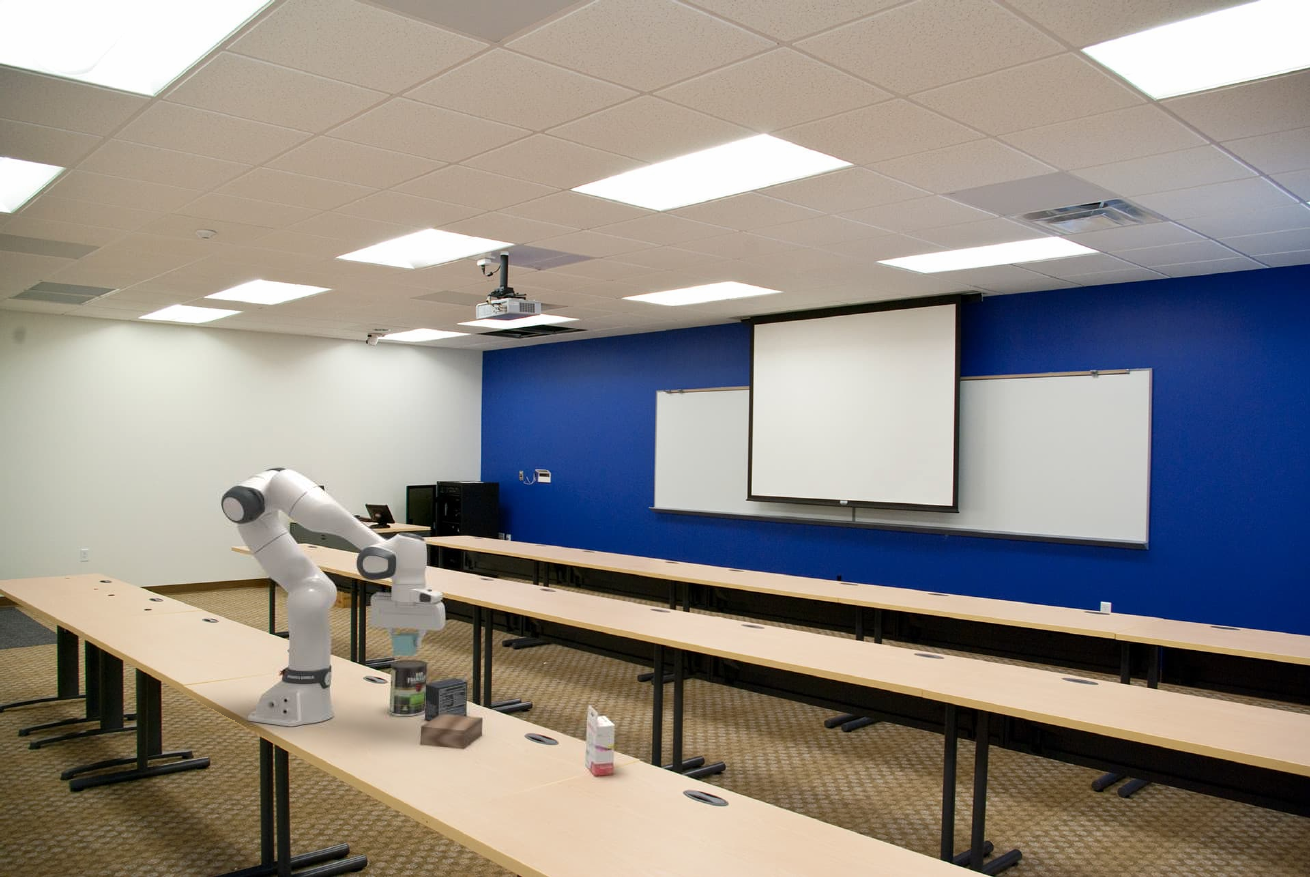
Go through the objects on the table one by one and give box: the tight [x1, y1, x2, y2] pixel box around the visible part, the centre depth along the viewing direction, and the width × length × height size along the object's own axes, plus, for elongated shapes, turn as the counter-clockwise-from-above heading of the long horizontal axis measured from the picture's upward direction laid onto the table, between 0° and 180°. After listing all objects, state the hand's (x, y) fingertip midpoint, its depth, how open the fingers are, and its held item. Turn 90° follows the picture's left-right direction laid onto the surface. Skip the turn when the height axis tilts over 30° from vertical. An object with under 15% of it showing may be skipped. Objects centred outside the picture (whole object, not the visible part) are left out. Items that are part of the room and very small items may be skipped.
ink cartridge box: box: [584, 705, 616, 777], centre depth 207 cm, size 9×5×15 cm, turn 21°
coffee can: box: [388, 659, 428, 718], centre depth 250 cm, size 10×10×14 cm
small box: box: [424, 677, 468, 722], centre depth 245 cm, size 11×6×10 cm, turn 141°
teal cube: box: [392, 632, 420, 657], centre depth 229 cm, size 5×5×5 cm
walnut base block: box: [419, 714, 484, 750], centre depth 226 cm, size 12×12×5 cm
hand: (406, 645), depth 229 cm, fingers closed on teal cube, 5 cm apart
